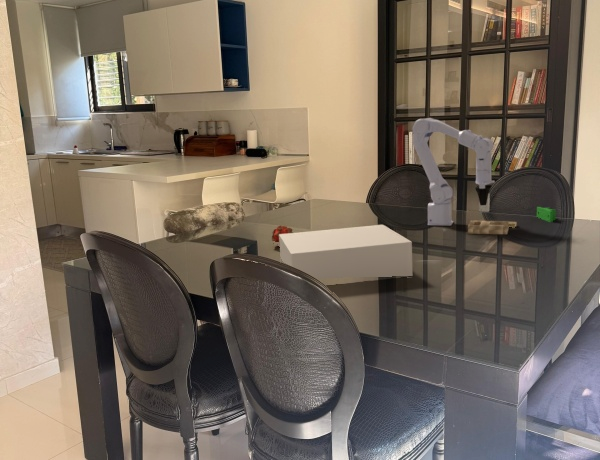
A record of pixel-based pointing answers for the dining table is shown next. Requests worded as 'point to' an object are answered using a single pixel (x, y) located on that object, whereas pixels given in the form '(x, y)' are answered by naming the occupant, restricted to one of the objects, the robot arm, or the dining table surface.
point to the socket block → (488, 227)
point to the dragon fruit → (280, 232)
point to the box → (348, 252)
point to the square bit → (485, 207)
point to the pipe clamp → (546, 214)
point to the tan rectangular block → (512, 224)
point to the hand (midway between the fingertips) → (483, 204)
